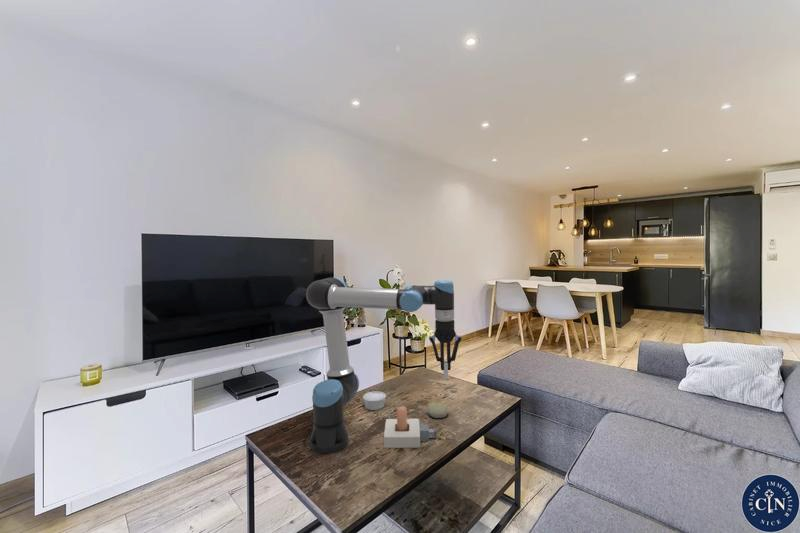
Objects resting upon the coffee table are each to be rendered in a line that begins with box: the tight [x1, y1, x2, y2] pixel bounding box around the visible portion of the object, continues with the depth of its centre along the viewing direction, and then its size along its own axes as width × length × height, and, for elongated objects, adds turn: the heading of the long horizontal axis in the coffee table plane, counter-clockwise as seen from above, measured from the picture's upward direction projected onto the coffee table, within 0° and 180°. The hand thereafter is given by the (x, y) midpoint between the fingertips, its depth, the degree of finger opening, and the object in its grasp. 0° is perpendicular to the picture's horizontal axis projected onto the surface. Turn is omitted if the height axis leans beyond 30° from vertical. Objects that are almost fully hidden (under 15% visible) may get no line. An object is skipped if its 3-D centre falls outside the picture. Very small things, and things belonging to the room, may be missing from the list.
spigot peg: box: [396, 405, 408, 431], centre depth 138 cm, size 4×4×12 cm
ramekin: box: [362, 390, 387, 411], centre depth 166 cm, size 11×11×5 cm
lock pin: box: [429, 426, 438, 439], centre depth 138 cm, size 10×3×3 cm, turn 88°
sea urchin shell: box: [426, 402, 449, 419], centre depth 156 cm, size 9×8×8 cm
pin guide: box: [419, 423, 430, 442], centre depth 138 cm, size 4×5×4 cm
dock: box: [383, 418, 421, 449], centre depth 138 cm, size 14×14×4 cm
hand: (445, 377), depth 136 cm, fingers closed
